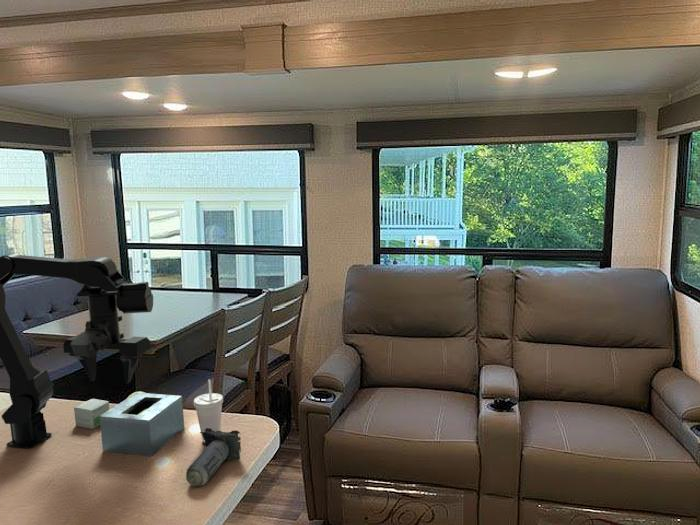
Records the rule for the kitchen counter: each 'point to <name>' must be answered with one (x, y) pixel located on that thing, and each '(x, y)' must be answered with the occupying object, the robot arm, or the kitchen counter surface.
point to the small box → (90, 413)
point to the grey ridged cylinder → (213, 455)
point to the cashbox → (142, 424)
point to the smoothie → (209, 410)
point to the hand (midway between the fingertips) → (110, 381)
